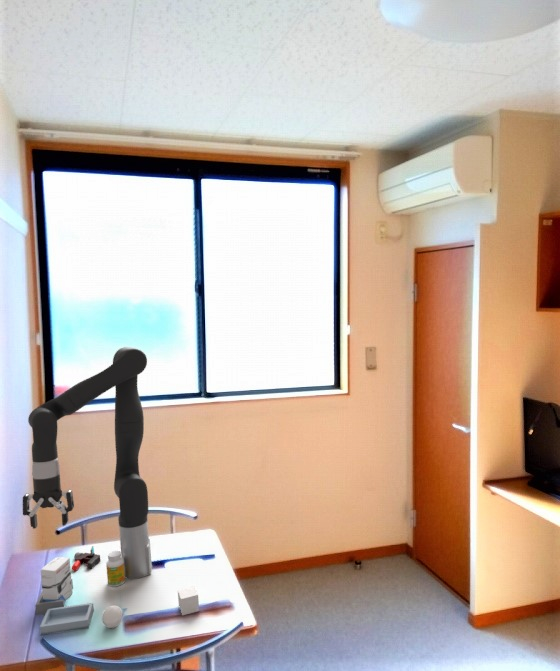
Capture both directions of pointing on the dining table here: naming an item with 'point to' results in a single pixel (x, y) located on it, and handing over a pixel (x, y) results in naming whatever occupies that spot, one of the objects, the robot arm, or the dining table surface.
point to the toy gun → (86, 559)
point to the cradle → (48, 604)
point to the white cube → (188, 600)
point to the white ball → (112, 616)
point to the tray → (67, 619)
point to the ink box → (56, 580)
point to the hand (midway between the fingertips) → (49, 526)
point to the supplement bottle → (115, 569)
